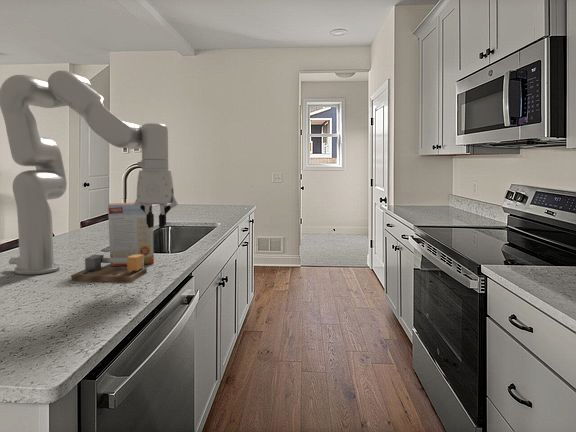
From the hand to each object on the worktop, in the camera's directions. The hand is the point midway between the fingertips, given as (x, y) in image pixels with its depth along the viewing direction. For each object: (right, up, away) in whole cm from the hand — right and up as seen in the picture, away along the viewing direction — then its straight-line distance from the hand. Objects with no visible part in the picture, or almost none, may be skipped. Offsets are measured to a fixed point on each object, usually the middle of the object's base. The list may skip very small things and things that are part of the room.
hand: (156, 226), depth 145 cm
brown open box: (-14, -15, +1) cm, 21 cm away
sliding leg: (-7, -13, +1) cm, 15 cm away
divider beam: (-14, -13, +2) cm, 20 cm away
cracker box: (-14, -13, +20) cm, 28 cm away
